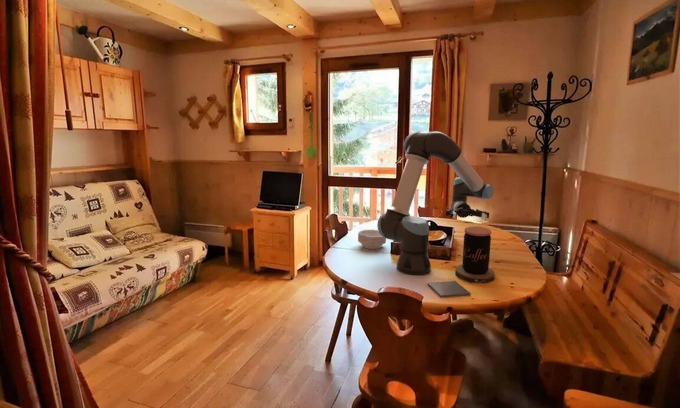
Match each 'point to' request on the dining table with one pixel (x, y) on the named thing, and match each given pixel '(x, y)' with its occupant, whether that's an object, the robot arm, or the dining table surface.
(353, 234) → the dining table surface
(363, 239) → the paper bowls
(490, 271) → the grey round disc
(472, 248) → the coffee jar
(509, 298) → the dining table surface
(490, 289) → the dining table surface
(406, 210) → the robot arm
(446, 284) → the slate coaster
